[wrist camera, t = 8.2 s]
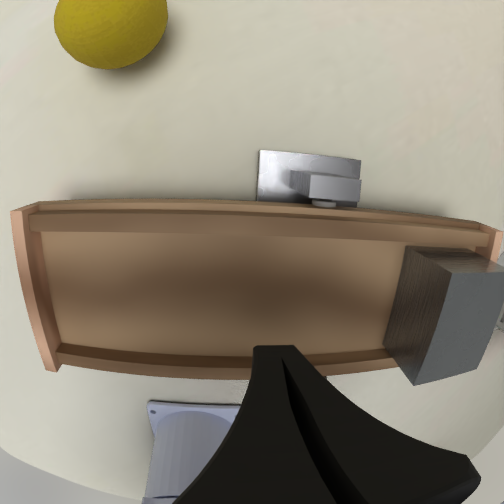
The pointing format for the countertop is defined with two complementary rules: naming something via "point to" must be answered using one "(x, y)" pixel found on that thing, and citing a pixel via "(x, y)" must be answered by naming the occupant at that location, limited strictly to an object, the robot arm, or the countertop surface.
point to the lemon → (110, 30)
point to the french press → (503, 319)
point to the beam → (218, 281)
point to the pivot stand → (307, 179)
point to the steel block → (443, 312)
